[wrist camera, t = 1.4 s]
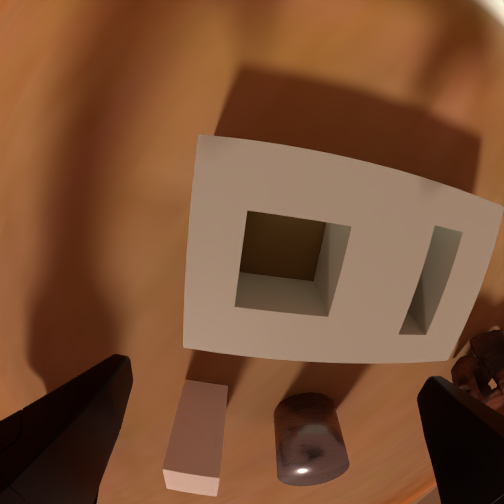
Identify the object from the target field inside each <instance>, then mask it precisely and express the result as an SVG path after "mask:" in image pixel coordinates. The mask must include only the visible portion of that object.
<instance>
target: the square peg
mask: <svg viewBox="0 0 504 504" xmlns="http://www.w3.org/2000/svg"><path fill="white" fill-rule="evenodd" d="M227 394H228V385H220V384H212V383H205V382H199V381H193V380H187V379H185V382H184V386H183V390H182V393H181V397H180V401H179V405H178V409H177V412H176V416H175V420H174V424H173V428H172V432H171V436H170V440H169V444H168V448H167V452H166V456H165V460H164V465H163V474H164V478H165V482H166V487H167V489H172V490H177V491H183V492H188V493H195V494H201V495H209V496H217V492H218V485H219V479H220V468H221V457H222V446H223V436H224V425H225V415H226V404H227Z"/></svg>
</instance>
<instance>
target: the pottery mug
mask: <svg viewBox="0 0 504 504" xmlns="http://www.w3.org/2000/svg"><path fill="white" fill-rule="evenodd" d="M470 345H471V346H472V348H473V349H474V354H475V356H476V357H474V356H463V357H460V358H459V359H458V361H457V362H456V363H455V365H454V366H453V368H452V370H451V374H452V381H453V384H454V385H456V386H457V387H459V388H460V389H462V390H464V391H465V392H467V393H468V394H470V395H472V396H473V397H475V398H476V399H478V400H479V401H481V402H483V403H484V404H486V405H487V406H489V407H491V408H492V409H494V410H495V411H497V412H499V413H500V414H502V415H503V416H504V330H493V331H490V332H487V333H484V334H482V335H479V336H477V337H475V338H473V339H471V340H470ZM492 378H493V379H494V381H495V383H496V384H497V387H496V388H494V389H491V387H490V386H489V385H488V383H489V381H490V380H491V379H492Z"/></svg>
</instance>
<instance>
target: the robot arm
mask: <svg viewBox="0 0 504 504" xmlns="http://www.w3.org/2000/svg"><path fill="white" fill-rule="evenodd" d="M132 384H133V375H132V368H131V361H130V358H129V357H128V356H124V355H120V354H114V355H112V356H110V357H109V358H107V359H105V360H104V361H102V362H100V363H99V364H97V365H95V366H94V367H92V368H90V369H89V370H87V371H85V372H84V373H82V374H80V375H79V376H77V377H75V378H74V379H72V380H70V381H69V382H67V383H65V384H64V385H62V386H60V387H59V388H57V389H55V390H53V391H52V392H50V393H48V394H47V395H45V396H43V397H42V398H40V399H38V400H36V401H35V402H33V403H31V404H30V405H28V406H26V407H24V408H23V411H22V410H19V411H17V412H16V413H14V414H12V415H10V416H9V417H7V418H5V419H3V420H1V421H0V504H96V503H97V497H98V491H99V485H100V483H101V480H102V477H103V474H104V472H105V469H106V466H107V463H108V461H109V458H110V455H111V453H112V450H113V448H114V445H115V442H116V440H117V437H118V435H119V432H120V429H121V426H122V422H123V418H124V414H125V410H126V406H127V403H128V399H129V395H130V392H131V388H132ZM417 402H418V407H419V412H420V416H421V421H422V426H423V432H424V437H425V441H426V445H427V448H428V452H429V455H430V459H431V463H432V466H433V470H434V474H435V478H436V483H437V487H438V491H439V496H440V500H441V504H504V416H503V415H502V414H500V413H499V412H497V411H495V410H494V409H492V408H491V407H489V406H487V405H486V404H484V403H483V402H481V401H479V400H478V399H476V398H475V397H473V396H472V395H470V394H468V393H467V392H465V391H464V390H462V389H460V388H459V387H457V386H456V385H454V384H452V383H451V382H449V381H448V380H446V379H445V378H443V377H441V376H431V377H429V378H428V379H427V380H426V382H425V384H424V385H423V387H422V389H421V391H420V392H419V394H418V397H417Z"/></svg>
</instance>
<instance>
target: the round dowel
mask: <svg viewBox="0 0 504 504" xmlns="http://www.w3.org/2000/svg"><path fill="white" fill-rule="evenodd" d="M274 427H275V443H276V461H277V477H278V479H279V480H280V481H281V482H283V483H285V484H288V485H293V486H310V485H317V484H321V483H325V482H328V481H330V480H333V479H335V478H337V477H339V476H340V475H342V474H343V473H344V472H345V471H346V470H347V469H348V468H349V460H348V456H347V452H346V448H345V444H344V440H343V436H342V432H341V428H340V425H339V421H338V417H337V413H336V409H335V406H334V403H333V401H332V400H331V399H330V398H329V397H328V396H326V395H323V394H320V393H302V394H298V395H294V396H291V397H289V398H287V399H285V400H284V401H282V402H281V403H280V404H279V405H278V406H277V407H276V409H275V411H274Z"/></svg>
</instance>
